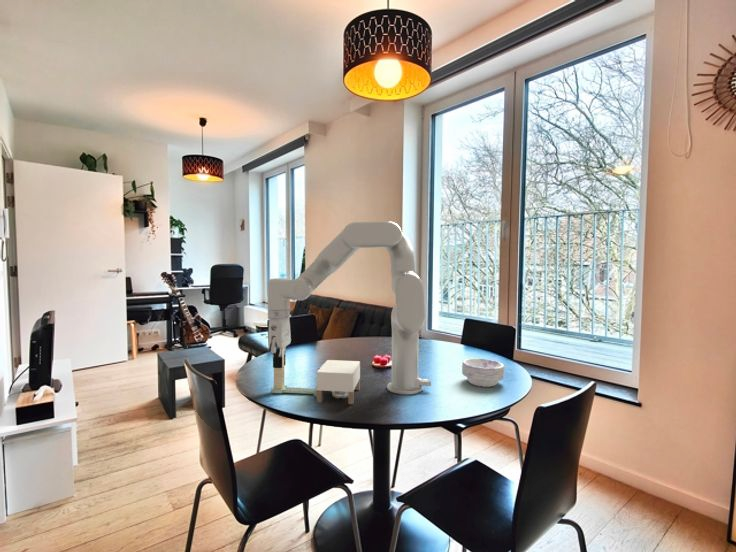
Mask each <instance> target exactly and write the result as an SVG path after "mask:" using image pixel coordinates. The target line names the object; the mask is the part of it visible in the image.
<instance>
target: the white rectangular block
mask: <svg viewBox="0 0 736 552" xmlns="http://www.w3.org/2000/svg"><path fill="white" fill-rule="evenodd" d="M316 387H317V396H316V403H320V402H321V403H322V402H323V391H329V392H332V391H342V392H348V397H347V398H348V401H347V403H348V405H353V404H354V402H355V401H354V400H355V391H360V389H361V361H359V360H342V359H341V360H339V359H338V360H337V359H327V360H326V361H325V362H324V363H323V364H322V365H321V366H320V369H319V368H318V369H317V371H316ZM322 390H323V391H322Z"/></svg>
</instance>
